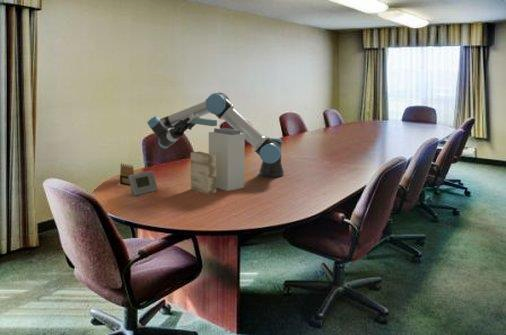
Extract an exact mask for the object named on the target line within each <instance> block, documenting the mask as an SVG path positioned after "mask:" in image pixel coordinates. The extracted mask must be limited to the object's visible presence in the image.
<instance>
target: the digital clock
mask: <svg viewBox="0 0 506 335" xmlns="http://www.w3.org/2000/svg"><path fill="white" fill-rule="evenodd" d="M128 179H129V183H130V186H129V187H130V189H131V190H130V191H131V195H132V196H133V197H136V196H142V195H146V194H150V193H153V192H157V191H158V184H157V182H156V178H155V174H154V171H153V170H149V171H143V172H138V173H134V174H133V175H129V176H128Z"/></svg>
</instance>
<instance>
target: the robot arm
mask: <svg viewBox="0 0 506 335" xmlns="http://www.w3.org/2000/svg"><path fill="white" fill-rule="evenodd" d="M208 114H211V115H215V116H216V117H217V118H218V119H219V121H220V120H222V121H223V120H224V121H225V122H226V123H227V124H228V125H229V126H230V127H231V128H233V129H235V130H240V133H244V134H245V141H246V142H248V143H249V144H250V145H251V146H252V147H253V148H254V149H253V150H254V152H255V153H256V154H257V155H258V156H259V157H260V159H261V160H262V162H261V165H260V169H259V174H258V175H260V176H262V177H267V178H268V177H269V178H278V177H283V176H284V175H285V174H284V170H283V169H284V168H283V165H282V144H283V142H282V138H279V137H278V138H277V137H275V138H274V137H273V138H272V137H269V136H267V135H266V136H264V135H263V134H262V133H261V132H260V131H259V130H258V129H256V127H255V126H253V125H252V124H251V123H250V122H249V121H248V120H247V119H245V117H243V116H242V115H241V114H240V113H239V112H238V111H237V110H236V109H235V107H234V104H233V102H231V101H230V98H229V97H228V95H227V94H226V93H223V92H214V93H211V94H210V95H209V96H208V97H207V98H206V99H205V101H202V102H201V103H197V104H195V105H192V106H190V107H188V108H184V109H182V110H180V111H176V112H174V113H172V114H170V115H166V116H163V117H162V118H160V117H158V115H154V116H153V117H151V118H150V119H148V121H147V123H146V124H147V125H148V127H149V128H150V130H152V132H153V133H154V135H155V136H156V137H157V138H158V140H157V144H158V146H159V147H160V148H162V149H168V148H169V147H171V146H172V145H174V143H176V142H177V141H178V140H179V139H180V138H181V137H183V136H184V134H185V132H186V131H187V130H189V131H190V130H191V131H192V128H193V127H195V126H196V125H197V124H193V123H189V122H191V121H192V120H193V119H194V117H195V118H201V117H203V116H206V115H208ZM186 117H187V118H186Z"/></svg>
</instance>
